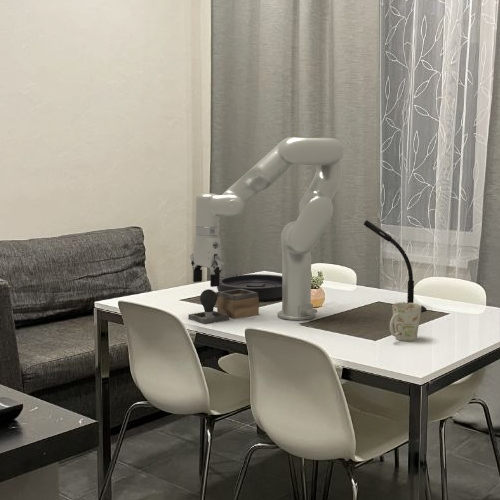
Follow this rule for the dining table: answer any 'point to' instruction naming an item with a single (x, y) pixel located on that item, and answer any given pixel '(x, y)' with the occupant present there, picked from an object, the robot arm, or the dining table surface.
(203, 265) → the robot arm
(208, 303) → the light bulb
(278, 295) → the round tray
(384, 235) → the microphone
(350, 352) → the dining table surface
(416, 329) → the mug
